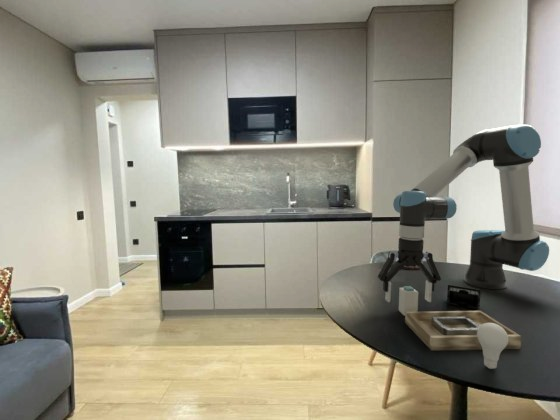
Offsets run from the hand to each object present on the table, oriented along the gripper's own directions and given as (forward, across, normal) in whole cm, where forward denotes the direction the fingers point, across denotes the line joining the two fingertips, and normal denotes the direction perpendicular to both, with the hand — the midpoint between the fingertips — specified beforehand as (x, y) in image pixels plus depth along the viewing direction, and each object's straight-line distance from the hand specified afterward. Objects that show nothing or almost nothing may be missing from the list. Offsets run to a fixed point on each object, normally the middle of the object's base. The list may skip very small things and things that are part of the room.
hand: (407, 300), depth 105 cm
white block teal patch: (+4, 0, 0) cm, 4 cm away
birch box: (+4, -8, +15) cm, 17 cm away
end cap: (+4, -22, -5) cm, 23 cm away
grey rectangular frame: (+4, -8, +14) cm, 17 cm away
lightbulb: (+4, -6, +31) cm, 32 cm away
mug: (+4, -26, -55) cm, 61 cm away
